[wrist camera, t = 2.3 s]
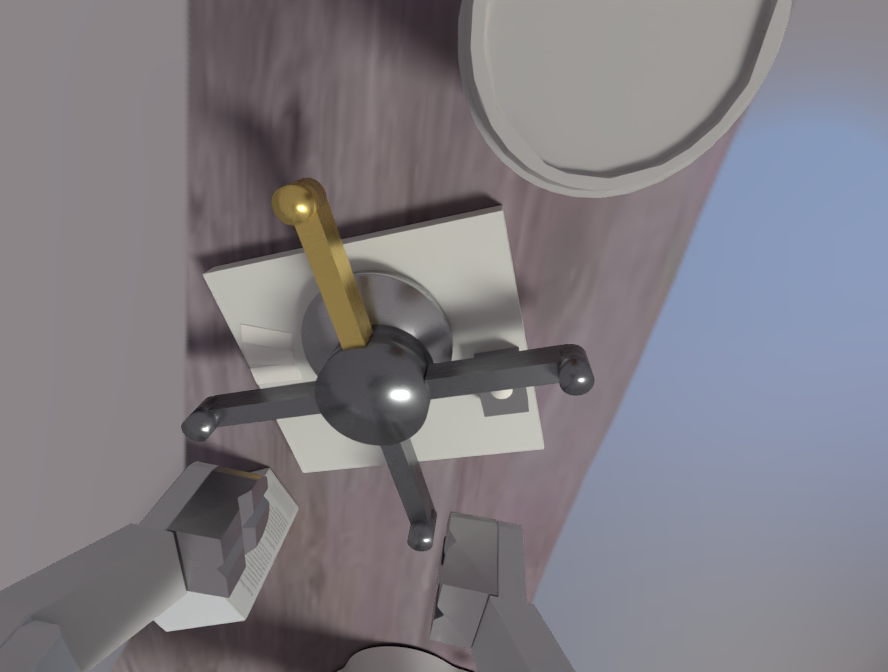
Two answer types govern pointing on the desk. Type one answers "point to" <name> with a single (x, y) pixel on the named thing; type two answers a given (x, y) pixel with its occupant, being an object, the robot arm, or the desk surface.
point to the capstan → (379, 359)
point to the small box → (258, 563)
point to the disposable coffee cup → (611, 83)
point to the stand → (453, 286)
